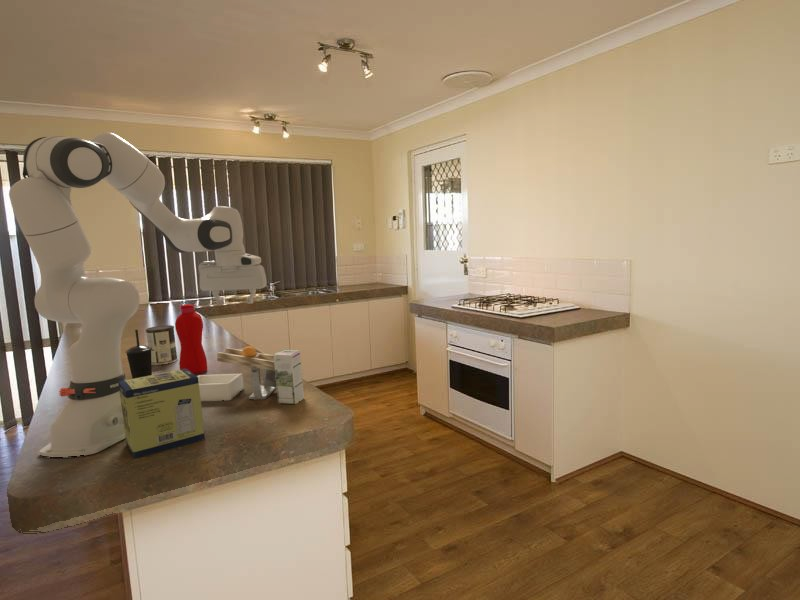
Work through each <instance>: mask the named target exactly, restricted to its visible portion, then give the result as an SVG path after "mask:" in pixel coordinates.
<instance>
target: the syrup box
mask: <svg viewBox="0 0 800 600" xmlns="http://www.w3.org/2000/svg"><path fill="white" fill-rule="evenodd" d="M273 355H274V366H275V377H276V397H277V403H278V404H280V405H281V404H282V405H297V404H298V403H300V402H301V401H303V400H304V399H305V393H304V385H303V372H302V371H303V370H302V369H303V368H302V358H301V357H302V356H301V351H300V350H297V349H295V350H294V349H291V350H288V349H287V350H284V349H283V350H279V351H278V352H275V354H273ZM299 401H300V402H299Z"/></svg>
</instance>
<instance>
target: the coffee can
mask: <svg viewBox="0 0 800 600" xmlns="http://www.w3.org/2000/svg"><path fill="white" fill-rule="evenodd" d="M145 333H146V341H147V346H149V347H152V350H151V362H152V366H162V364H163V365H168V363H169V364H171V363H175V362H178V360H179V359H178V352H177V346H176V337H175V335H176V334H175V325H170V324H168V325H157V326H152V327H148V328H145Z"/></svg>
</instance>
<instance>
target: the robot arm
mask: <svg viewBox="0 0 800 600" xmlns="http://www.w3.org/2000/svg"><path fill="white" fill-rule="evenodd" d="M23 151H24V152H23V157H22V158H23V160H22V161H23V162H22V163H23V168H22V177H23V178H21V179H19V180H18V181H16V182H15V183H13V184H12V186H10V189H9V191H8V192H9V193H8V196H9V200H10V204H11V207H12V211H13V214H14V216H15V219H16V221H17V225H18V226H19V228H20V230H21V232H22V234H23V236H24V238H25V240H26V242H27V244H28V246H29V248H30V250H31V251H32V254H33V256H34V258H35V260H36V263H37V265H38V268H39V272H40V286H39V288H38V289H37V291H36V293H35V295H34V307H35V310H36V311H37V313H38V314H39V315H40V316H41V317H42V318H44V319H46V320H49V321H53V322H57V323H61V324H81V332H80V334H79V338H78V340H76V342H74V343H73V344H72V345H71V346H70V347H69V349H68V351H67V356H68V363H69V371H70V377H71V380H70V383H69V387H61V388H60V389H59V393H58V394H59V396H60V397H66V396H67V398H68V400H67V402H66V404H64V406H63V408H62V409H61V410H60V412H59V414H58V415H57V416H56V418H55V420H54V421H53V422H52V424H51V425H50V429H49V435H50V436H49V437H50V440H49V441H50V442H49V443H48V444H47V445H45V446H44V447H42V448H41V449H40V450H39V452H38V454H39V453H40V454H41V455H45V456H53V457H63V458H69V457H68V456H77V457H81V456H80V455H84V456H89V455H94V454H97V453H99V452H101V451H104V450H105V449H107V448H108V447H111V446H113V445H115V444H117V443H119V442H120V441H122V440H125V439H126V436H125V428H124V421H123V413H122V406H121V399H120V392H119V385H118V382H119V381H123V380H127V377H126V373H125V372H124V370H123V361H122V352H121V351H122V349H121V348H122V345H121V344H122V336H123V333H124V330H125V327H126V325H127V323H128V322H129V321H130V319H131V318H132V317H133V316H134V315H135V314H136V313H137V311H138V310H139V307H140V303H141V302H140V301H141V298H140V294H139V291H138V289H137V287H136V286H135V285H134V283H132V282H131V281H129V280H126V279H123V278H122V279H120V278H115V277H109V276H108V277H88V276H87V274H86V271H85V266H84V264H85V262H86V261H87V260H88V258H89V257H90V255H91V253H92V246H91V244H90V242H89V239H88V238H87V235H86V234H85V231H84V228H83V227H82V224H81V222H80V221H79V218H78V216H77V214H76V212H75V211H74V210H75V209H73V207H72V200H71V191H72V189H73V188H74V189H75V188H76V189H85V188H90V187H92V186H94V185H96V184H98V183H99V182H100V181H102V180H103V181H106V182H107V183H108V184H109V185H110V186H111V187H113V189H115V190H116V191H117V192H119V193H120V194H121V195H123V196H124V197H125V198H126V199H127V200H128V202H129V203H130V204H131V205H132V207H133V208H134V209H135V210H136V211H137V212H138V213H139V214H140V215H142V216H143V218H145V220H147V221H148V222H149V223H150V224H151V225H152V226H153V227H154V228H155V229H156V230H157V231H159V232H160V233H161V235H162V237H163V238H164V240H165V241H166V243H167V245H168V246H169V247H170V248H171V249H172V250H173V251H175V252H177V253H180V254H187V253H201V252H203V253H204V252H213V251H214V256H215V260H210V261H208V260H205V261H202V262H201V263H199V265H198V273H199V289H200V290H201V291H202V292H211V294H212V296H213V297H214V299H215V300H216V305H217V306H219V305H220V306H221V305H224V304H225V303H224V298H221V296H220V295H219V294H220V291H236V290H237V291H239V290H249V292H248V293H249V294H250V295H249V296H248V297H246V304H249V305H250V304H251V305H252V304H254V297H255V294H256V292H257V291H256V290H259V289H260V290H261V289H264V288H265V287H267V283H268V281H267V275H266V274H267V273H266V271H265V267H264V266H263V265H262V264H261V263H262V257H260V256H258V255H253V254H251V253H246V249H245V245H244V243H243V240H244V230H243V229H244V228H243V220H242V217H241V214H240V212H239V210H238V209H237V208H235V207H232V206H224V205H218V206H214V207H212V210H211V211H210V212H209V213H207V214H205V215H204V216H202V217H200V218H191V219H190V218H189V219H187V218H181V217H178V216H176V215H175V214H174V213H173V212H172V211H171V210H170V209H169V208H168V207H167V206H166V205H165V204H164V203H163V202H162V201H161V200H160V197H161V196H162V194H163V192H164V189H165V186H166V180H165V175H164V174H163V173H162V171H161V170H160V168H159V167H158V166H157V165H156V164H155V163H153V161H151V160H150V159H149V158H148V157H147V156H146V155H145V154H144V153H143V152H141V151H140V150H139V149H137V147H135V146H134V145H132V144H131V143H129V142H128V141H127V140H125V139H123V138H122V137H120V136H119V135H117V134H115V133H112V132H107V131H106V132H101V133H98V134H96V135H94V136H92V138H91V139H89V140H86V139H83V138H77V137H68V136H64V135H63V136H62V135H53V136H43V137H39V138H37V139H34V140H33V141H31V142H30V143H28V144H27V146H26V147H25V149H24V150H23Z"/></svg>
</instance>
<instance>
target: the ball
mask: <svg viewBox="0 0 800 600" xmlns="http://www.w3.org/2000/svg"><path fill="white" fill-rule="evenodd" d="M243 348H244V349H243V351H242V356H246V357H254V356H255V355H256V352H257V350H256V349H255V348H254V347H253V346H250V345H247V346H246V347H243ZM255 350H256V351H255Z"/></svg>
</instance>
